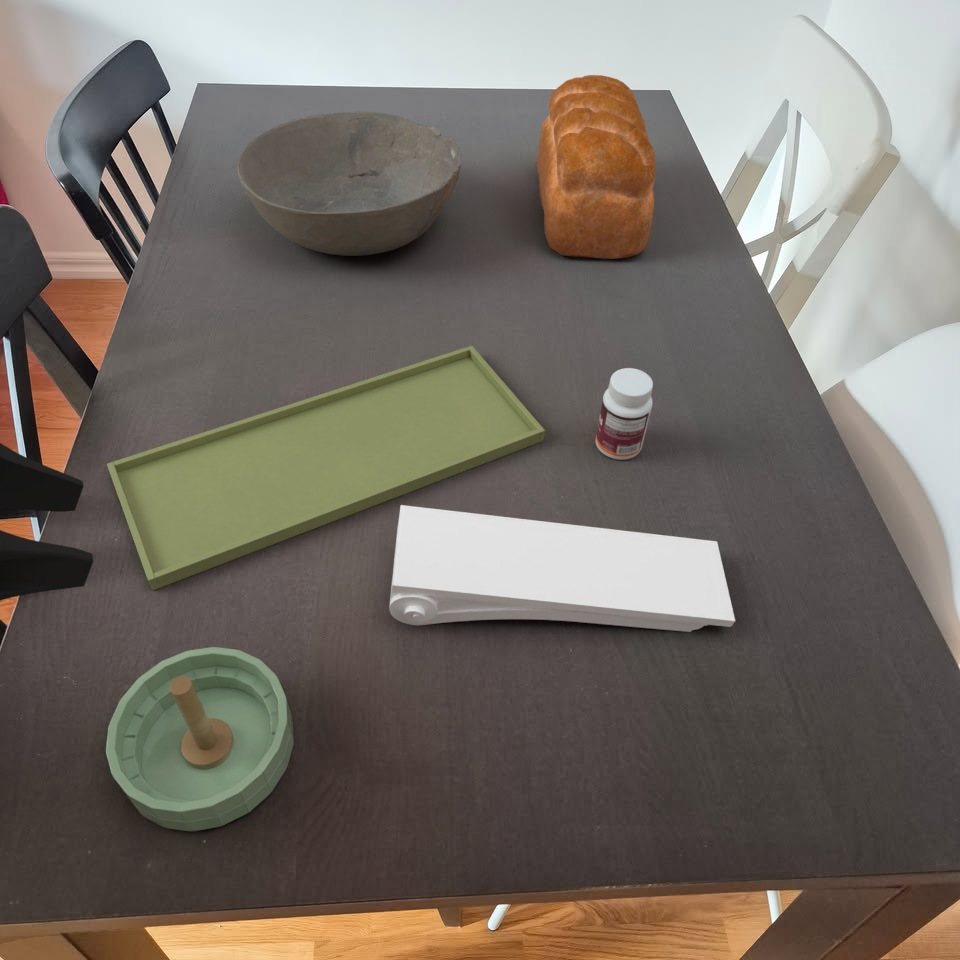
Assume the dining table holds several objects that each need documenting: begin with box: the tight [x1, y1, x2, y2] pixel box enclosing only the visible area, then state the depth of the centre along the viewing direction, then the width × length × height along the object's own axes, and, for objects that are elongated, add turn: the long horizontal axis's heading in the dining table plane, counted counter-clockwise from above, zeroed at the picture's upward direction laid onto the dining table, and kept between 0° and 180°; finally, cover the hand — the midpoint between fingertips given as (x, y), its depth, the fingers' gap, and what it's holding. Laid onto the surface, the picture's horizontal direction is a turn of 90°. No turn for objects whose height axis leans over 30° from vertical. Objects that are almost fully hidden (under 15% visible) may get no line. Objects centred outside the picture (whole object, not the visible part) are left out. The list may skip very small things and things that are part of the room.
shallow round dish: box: [105, 646, 295, 832], centre depth 60 cm, size 12×12×4 cm
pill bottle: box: [595, 367, 654, 461], centre depth 81 cm, size 5×5×8 cm
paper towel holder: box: [169, 676, 234, 769], centre depth 58 cm, size 4×4×9 cm
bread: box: [536, 74, 656, 260], centre depth 110 cm, size 14×26×16 cm, turn 0°
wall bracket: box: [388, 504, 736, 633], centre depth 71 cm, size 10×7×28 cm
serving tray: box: [106, 345, 546, 591], centre depth 81 cm, size 39×15×2 cm, turn 119°
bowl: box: [236, 111, 462, 257], centre depth 107 cm, size 28×28×10 cm
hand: (83, 531), depth 52 cm, fingers open, 7 cm apart
